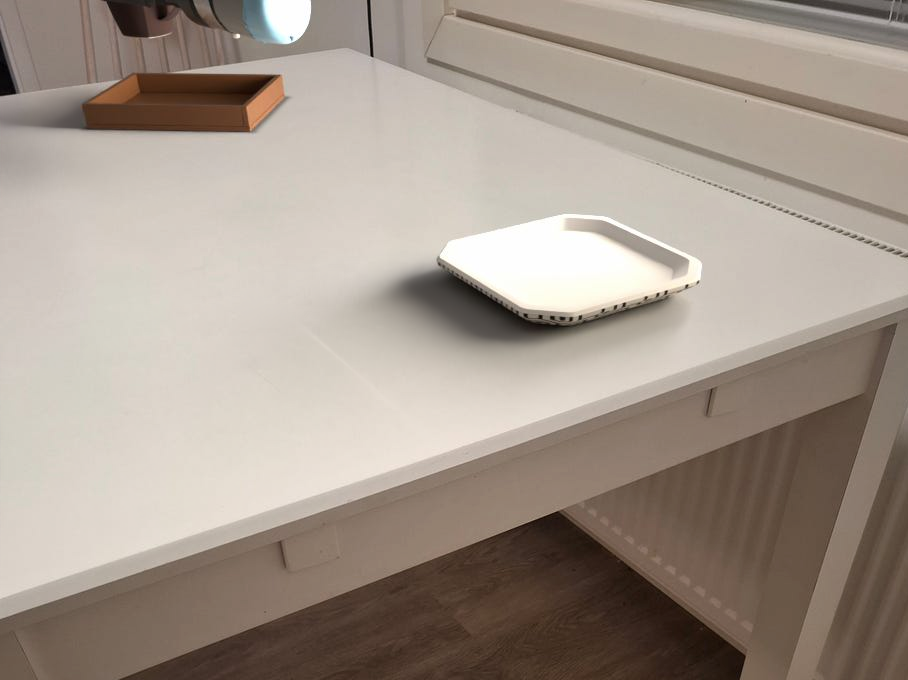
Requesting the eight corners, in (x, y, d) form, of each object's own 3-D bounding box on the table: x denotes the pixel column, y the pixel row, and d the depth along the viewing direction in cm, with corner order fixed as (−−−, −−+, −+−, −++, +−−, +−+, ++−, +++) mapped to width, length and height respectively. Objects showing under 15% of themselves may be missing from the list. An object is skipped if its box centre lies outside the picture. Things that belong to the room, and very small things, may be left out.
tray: (87, 128, 128) (81, 104, 126) (138, 95, 142) (133, 72, 140) (250, 131, 126) (246, 106, 124) (285, 97, 141) (281, 74, 138)
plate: (420, 270, 89) (419, 246, 88) (586, 229, 97) (588, 207, 96) (541, 348, 76) (542, 323, 75) (721, 294, 84) (725, 270, 83)
